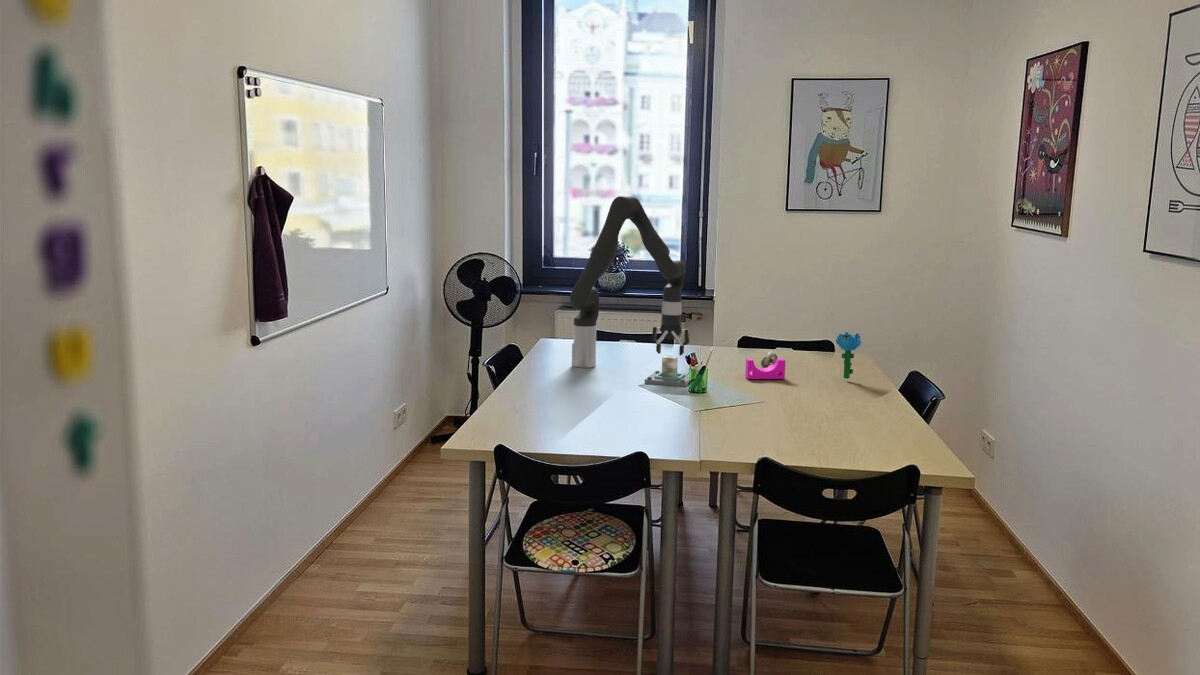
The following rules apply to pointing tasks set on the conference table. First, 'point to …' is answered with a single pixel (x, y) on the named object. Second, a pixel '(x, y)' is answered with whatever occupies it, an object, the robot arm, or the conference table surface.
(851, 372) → the toy flower
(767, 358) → the eagle figurine
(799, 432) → the conference table surface
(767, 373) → the toy block
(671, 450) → the conference table surface
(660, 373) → the baseplate
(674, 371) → the beige block
